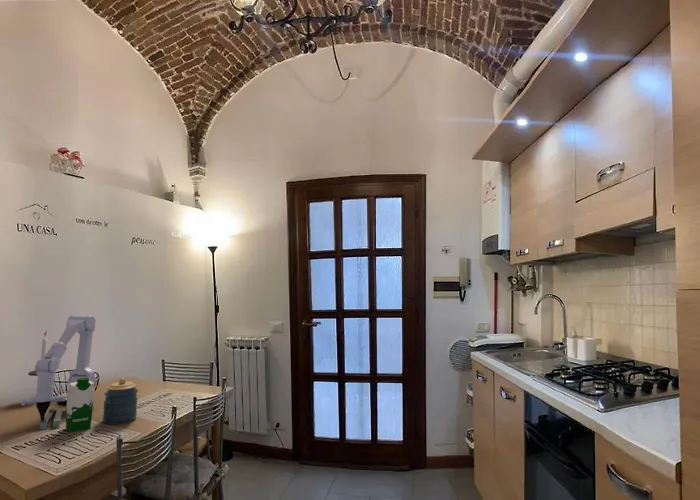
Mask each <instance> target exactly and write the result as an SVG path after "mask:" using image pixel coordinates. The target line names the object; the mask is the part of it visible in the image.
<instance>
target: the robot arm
mask: <svg viewBox="0 0 700 500" xmlns="http://www.w3.org/2000/svg"><path fill="white" fill-rule="evenodd" d="M96 321H97V320H96V318H95V317H94V316H93V315H91V314H88V315H87V314H71V315H69V317H68V318H67V320H66V321H65V322H66V323H65V324H66V325H65V326H66V327H65V329H64V330H63V332H62V333H61V334H62V335H61V336H60V338H59V340H58V341H57V342H54V343H52V345H51V346H50V347H49V349H48V351H46V355H45V356H44V358H42V359H41V358H40V359H38V361H37V362H36V364H35V366H34V369H35V370H36V372H37V376H36V377H37V384H36V385H37V386H36V393H35V397H32V398H26V399H25V398H24V399H22V400H21V406H25V405H26V406H27V405H36V409H37V411H38V413H39V417H40V422H41V421H42V420H43V419H44V418H45V416H46V414H47V411H48V409H49V407H50V406H51V403H55V402H65V401H66V395H54V387H55V375H56V371H57V370H58V369H59V368H60V363H61V359H62V357H63V356H64V354H65V353H66V351H67V349H68V348H67V345H68V343H69V342H70V341H71V339H72V338H73V337H74V336H75V334H76V333H78V334H79V341H78V346H77V349H78V350H77V357H76V358H77V359H76V366H75V369H73V370H72V371H71V372H70V373H69V374H70V375H69V377H68V380H67V385H68V386H69V383H74V382H77V379H80V378H89V381H92V382H93V383H94V384H96V383H95V382H96V378H95V371H94V370H93V369H92V368H90V363H91V355H92V353H91V352H92V344H93V336H94V332H95V327H96ZM35 370H34V371H35ZM94 392H95V387H94ZM95 403H96V402H95V396H94V397H93V406H94V404H95Z"/></svg>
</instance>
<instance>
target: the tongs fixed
mask: <svg viewBox="0 0 700 500" xmlns="http://www.w3.org/2000/svg"><path fill="white" fill-rule="evenodd" d="M48 412H54V418H53V420H52V421H53V423H52V429H56V428H57V429H58V427H59V428H60V427H61V420H62V416H63V408H57V409H55V408H54V407H52V408H50V409H49V410H48Z"/></svg>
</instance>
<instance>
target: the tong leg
mask: <svg viewBox="0 0 700 500" xmlns="http://www.w3.org/2000/svg"><path fill="white" fill-rule="evenodd" d="M54 419H55V416H54V412H49V411H48V412H47V413H46V414H45V416H44V419H43V420H42V421H41V420H40V422H39V430H47V429H48V427H49V425H50V424H51V422H52V421H53V420H54Z"/></svg>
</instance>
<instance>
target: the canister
mask: <svg viewBox="0 0 700 500" xmlns="http://www.w3.org/2000/svg"><path fill="white" fill-rule="evenodd" d="M136 387H137V384H136V383H134V382H133V381H127V380H126V378H124V377H121V378H120V379H119V380H118V382H117V381H116V382H113V383H111V384H110V385H109V386H107V387H106V389H107V391H105V392H104V396H105V397H104V398H105V399H104V400H103V414H102V422H103V423H104V424H107V425H120V424H126V423H129V422H132V421H134V420H135V419H136V418H137V415H138V411H137V409H138V408H137V407H138V396H137V394H138V393H139V389H137V388H136Z"/></svg>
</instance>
